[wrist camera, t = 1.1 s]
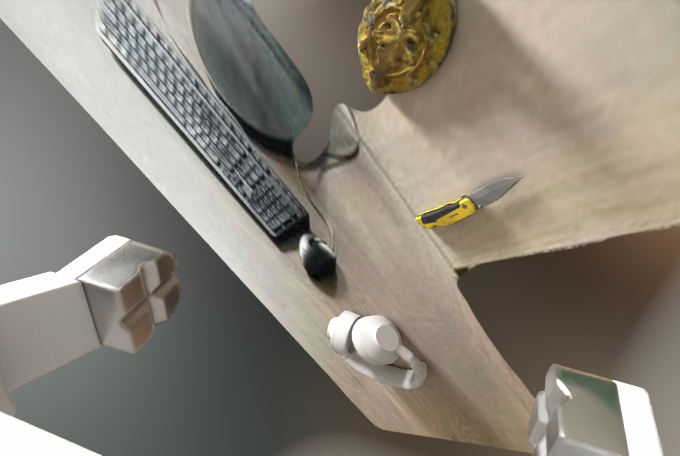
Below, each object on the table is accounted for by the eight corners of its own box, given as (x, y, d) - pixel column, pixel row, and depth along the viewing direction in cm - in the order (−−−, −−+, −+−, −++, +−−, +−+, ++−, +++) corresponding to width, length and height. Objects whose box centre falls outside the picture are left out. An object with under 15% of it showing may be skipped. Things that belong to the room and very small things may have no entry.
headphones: (323, 298, 91) (371, 354, 101) (302, 332, 87) (355, 387, 97) (400, 308, 78) (447, 371, 89) (381, 349, 74) (431, 410, 85)
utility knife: (509, 166, 49) (527, 187, 49) (513, 159, 50) (531, 180, 50) (413, 220, 62) (428, 236, 62) (417, 214, 63) (432, 230, 63)
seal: (416, 108, 53) (487, -14, 41) (400, 132, 50) (472, 9, 38) (345, 65, 53) (395, -69, 41) (326, 87, 51) (374, -49, 38)
